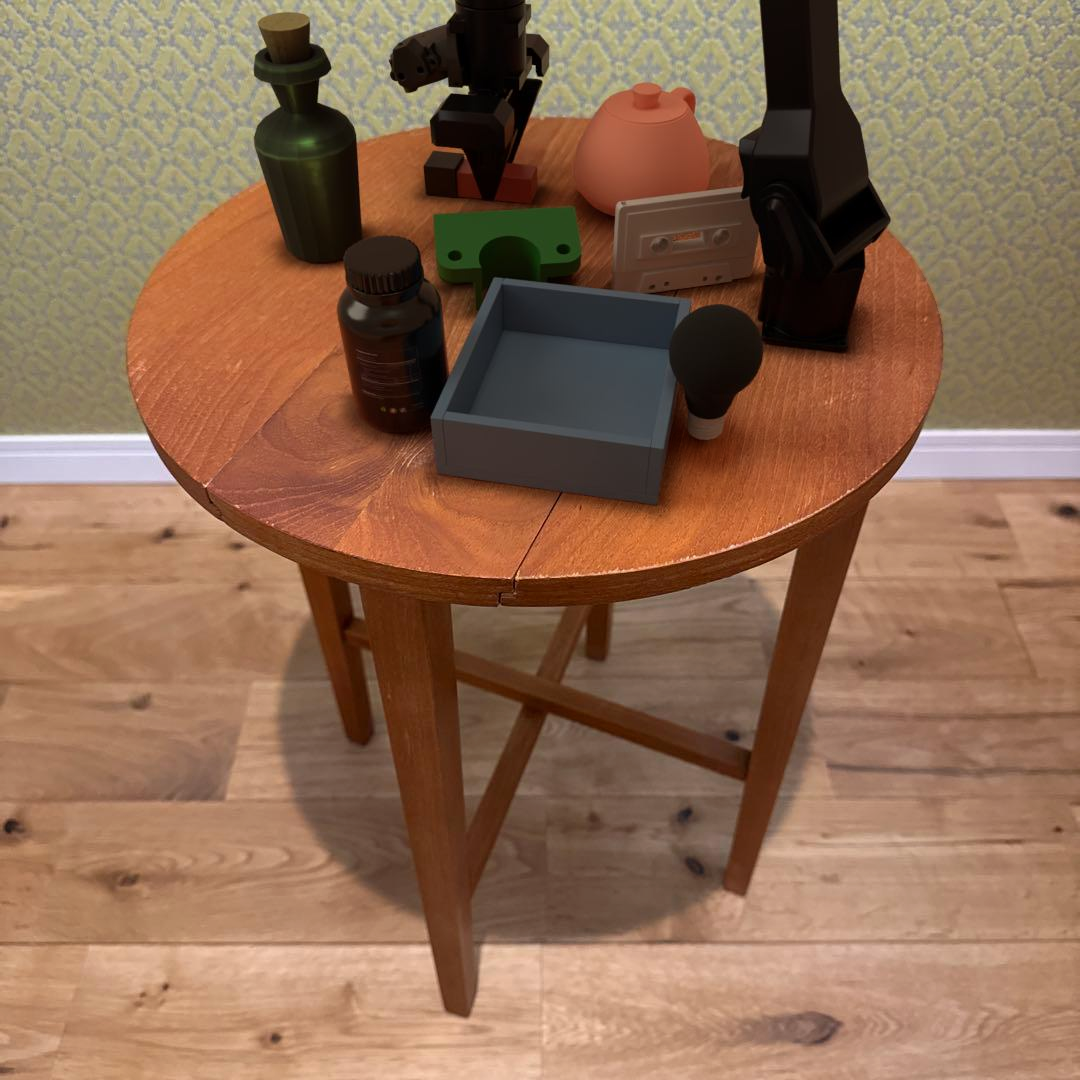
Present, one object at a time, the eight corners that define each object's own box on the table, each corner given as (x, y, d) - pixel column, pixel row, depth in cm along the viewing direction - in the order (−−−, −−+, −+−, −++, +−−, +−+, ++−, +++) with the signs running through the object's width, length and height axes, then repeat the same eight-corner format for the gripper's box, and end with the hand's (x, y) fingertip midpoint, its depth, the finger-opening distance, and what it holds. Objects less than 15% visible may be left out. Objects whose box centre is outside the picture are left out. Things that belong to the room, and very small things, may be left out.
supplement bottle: (363, 375, 71) (337, 224, 62) (456, 376, 71) (443, 225, 62) (347, 435, 66) (317, 282, 58) (446, 437, 66) (431, 283, 58)
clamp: (468, 348, 81) (416, 278, 73) (463, 294, 84) (412, 222, 76) (603, 299, 77) (563, 221, 70) (593, 245, 80) (554, 165, 73)
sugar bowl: (545, 204, 89) (544, 90, 81) (636, 152, 96) (643, 42, 89) (653, 249, 83) (664, 130, 76) (741, 189, 90) (759, 76, 83)
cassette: (746, 268, 81) (760, 180, 76) (754, 279, 80) (770, 191, 74) (608, 287, 79) (613, 198, 74) (615, 299, 78) (620, 210, 72)
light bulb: (686, 476, 64) (704, 349, 56) (644, 423, 67) (656, 298, 60) (762, 452, 65) (789, 326, 58) (717, 402, 69) (737, 277, 62)
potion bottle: (344, 276, 80) (305, 47, 67) (259, 259, 82) (204, 33, 69) (388, 230, 86) (359, 9, 73) (307, 214, 88) (264, -3, 75)
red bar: (537, 189, 91) (537, 160, 89) (530, 205, 89) (530, 175, 87) (435, 179, 92) (432, 150, 90) (425, 194, 90) (423, 165, 88)
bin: (685, 354, 73) (692, 298, 69) (657, 505, 62) (663, 448, 58) (496, 331, 75) (494, 276, 71) (436, 474, 64) (430, 417, 60)
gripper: (427, -43, 86) (441, 132, 97) (356, 32, 73) (382, 223, 84) (550, -36, 84) (550, 142, 95) (500, 43, 71) (506, 236, 83)
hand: (497, 183), depth 90 cm, fingers open, 6 cm apart
